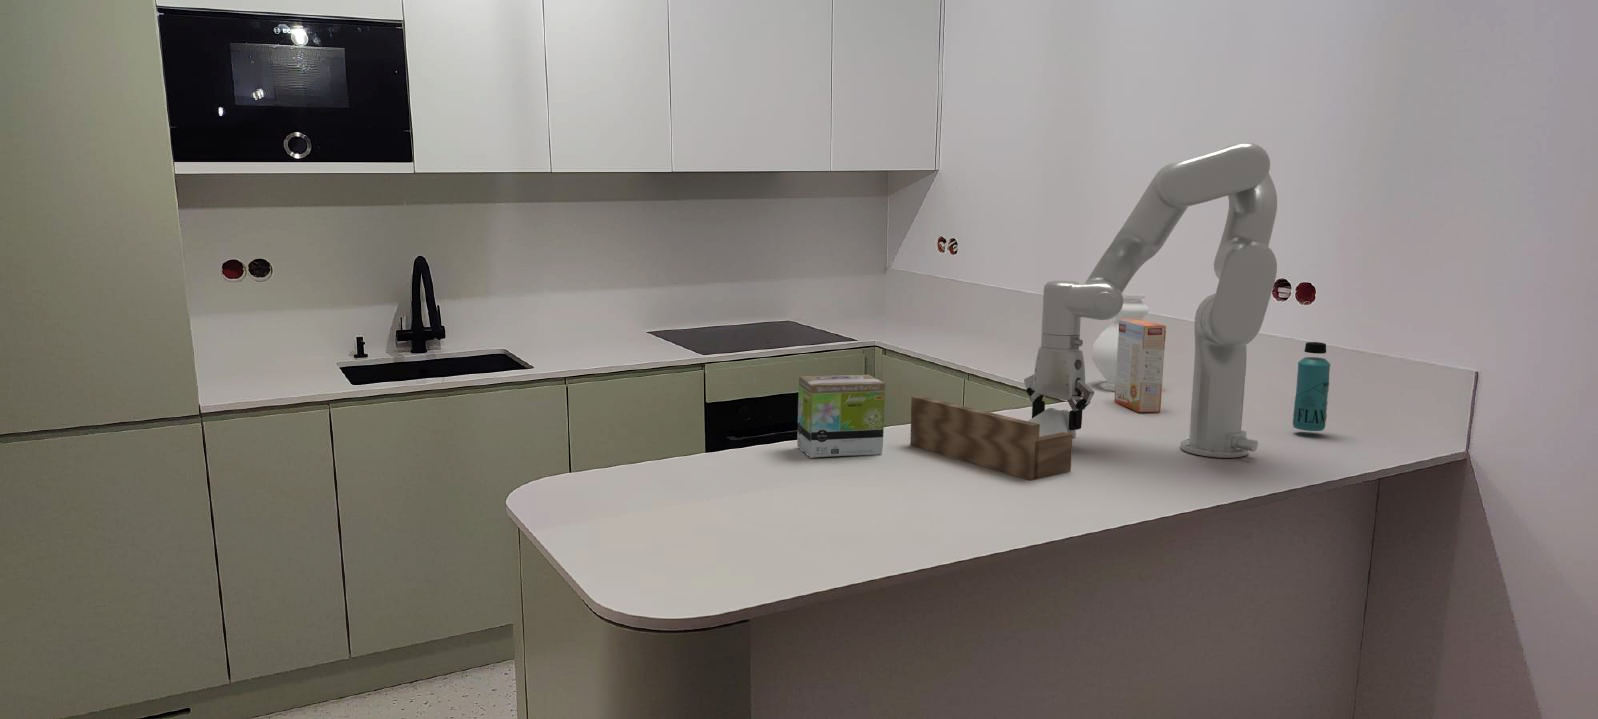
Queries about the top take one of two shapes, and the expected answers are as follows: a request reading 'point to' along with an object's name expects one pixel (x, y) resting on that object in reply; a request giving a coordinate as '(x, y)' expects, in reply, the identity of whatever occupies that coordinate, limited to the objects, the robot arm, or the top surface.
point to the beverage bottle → (1312, 390)
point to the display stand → (988, 439)
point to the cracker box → (1140, 365)
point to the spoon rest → (1053, 422)
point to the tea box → (840, 415)
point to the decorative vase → (1115, 338)
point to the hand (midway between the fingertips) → (1056, 424)
